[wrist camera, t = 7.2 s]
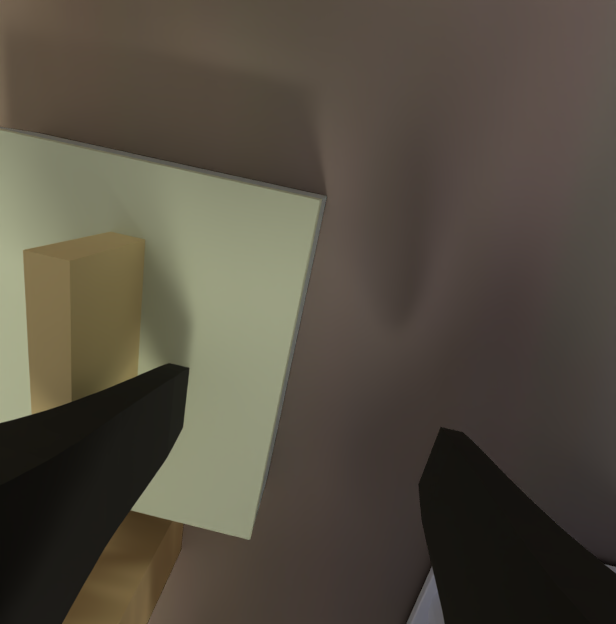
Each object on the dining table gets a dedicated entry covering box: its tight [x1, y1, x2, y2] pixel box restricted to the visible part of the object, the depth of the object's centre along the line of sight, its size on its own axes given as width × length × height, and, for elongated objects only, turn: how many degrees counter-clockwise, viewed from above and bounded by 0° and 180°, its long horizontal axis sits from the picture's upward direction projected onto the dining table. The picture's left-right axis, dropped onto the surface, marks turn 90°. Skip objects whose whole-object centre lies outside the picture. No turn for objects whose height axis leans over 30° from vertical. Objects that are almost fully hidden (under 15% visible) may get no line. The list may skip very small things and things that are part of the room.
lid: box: [0, 128, 322, 540], centre depth 11 cm, size 10×12×4 cm
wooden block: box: [62, 510, 183, 624], centre depth 15 cm, size 4×4×6 cm
